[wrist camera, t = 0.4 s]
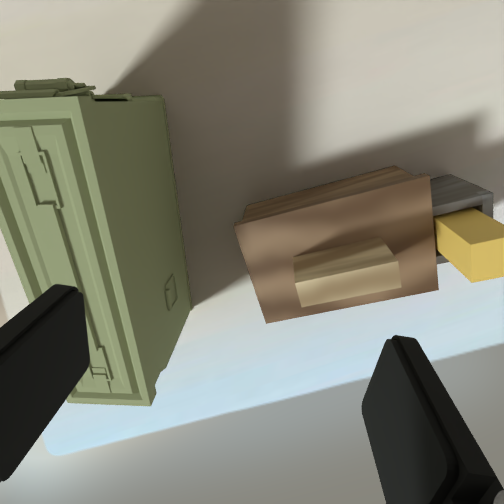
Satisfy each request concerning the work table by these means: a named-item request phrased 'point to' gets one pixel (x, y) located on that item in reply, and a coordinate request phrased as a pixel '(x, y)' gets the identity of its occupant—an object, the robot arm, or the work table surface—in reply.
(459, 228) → the yellow rectangular block
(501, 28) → the work table surface
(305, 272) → the lid
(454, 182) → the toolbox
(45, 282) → the ammunition box
